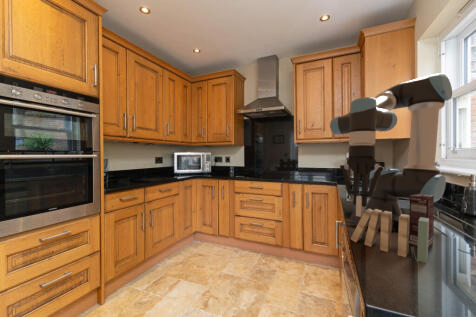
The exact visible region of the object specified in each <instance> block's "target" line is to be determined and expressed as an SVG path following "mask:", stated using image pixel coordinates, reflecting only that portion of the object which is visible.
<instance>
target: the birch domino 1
mask: <svg viewBox="0 0 476 317" xmlns="http://www.w3.org/2000/svg"><path fill="white" fill-rule="evenodd" d="M372 211H373V210H371V209H367V210H365V212H364V213H363V215H362V217H361V219H360V221H359V223H358V225H356V228H355V229H354V231H353V233H352V235H351V237H350V240H351V241H353V242H354V243H357V242H358V241H360V240H361V238H362V236H363V235H364V233H365V231H366V230H367V229H368V228H367V226H368V224H369V221H370V216H371V212H372Z"/></svg>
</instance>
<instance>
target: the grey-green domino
mask: <svg viewBox="0 0 476 317" xmlns="http://www.w3.org/2000/svg"><path fill="white" fill-rule="evenodd" d="M428 236H429V218H423V217H420V219H419V220H418V245H417V255H416V256H417V257H416V261H417V262H421V263H424V264H427V262H428V258H429V246H428Z"/></svg>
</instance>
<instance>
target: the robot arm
mask: <svg viewBox="0 0 476 317" xmlns="http://www.w3.org/2000/svg"><path fill="white" fill-rule="evenodd" d="M452 97H453V87H452V84H451V80H450V79H449V76H447V74H445V73H442V72H440V73H439V72H438V73H434V74H430V75H427V76H423V77H419V78H415V79H412V80H408V81H404V82H400V83H398V84H395V85H393V86H391V87H389V88H387V89H385V90H384V91H382V92H380V93H378V94H377V95H376V96H375V97H371V96H369V97H368V96H366V97H359V98H356V99H353V100H352V101H351V102H350V104H349V105H350V107H349V112H348V113H346V114H343V115H342V116H340V115H339V116H336V117H333V118H332V119H331V120H330V122H329V128H330V131H331V133H333V135H341V136H342V135H347V134H348V135H349V136H348V137H349V138H348V144H349V146H348V159H347V161H346V163H344V164H343V165H342V164H341V165H339V168H340V170H341V172H342V173H343V180H344V183H345V188H346V192H347V193H348V194H350V195H352V205H353V206H355V212H356V216H359V217H362V215H363V211H365V210H367V209H371V210H375V209H378V210H381V211H382V212H384V211H389V212H392V214H393V215H394V216H395V218H394V220H395V221H394V222H399V216H400V215H401V214H403V213H402V209H401V207H400V204H399V199H404V200H405V199H406V200H410V196H411V195H414V194H426V195H433V196H434V202H433V203H437V202H438V201H439V200H440V199H441V198H442V197H443V194H444V193H445V190H446V186H447V182H446V181H447V180H446V177H445V176H444V175H442V174H441V173H440V169H439V168H437V167H436V158H437V157H436V156H437V155H436V154H437V142H438V129H439V115H440V114H439V113H440V110H442V108H444V107H445V104H446V101H449V100H451V99H452ZM404 108H407V109H408V110H409V111H410V112H411V122H410V123H411V124H410V135H409V145H408V146H409V147H408V157H407V158H408V159H407V161H408V162H407V165H405V166H403V168H402V171H400V169H399V168H387V169H386V168H385V167H384V166H381V165H380V164H377V163H378V162H377V160H376V146H375V144H376V135H377V134H376V132H379V133H381V132H389V131H391V130H393V129H394V128H395V127H396V126H397V124H398V117H397V115H396V114H395V112H393V111H392V110H397V109H404ZM349 168H350V169H351V171H352V178H353V179H352V180H351V175H350V171H349ZM360 177H361V178H360ZM360 179H361V192H360ZM360 193H361V195H360Z"/></svg>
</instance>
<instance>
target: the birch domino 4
mask: <svg viewBox="0 0 476 317" xmlns="http://www.w3.org/2000/svg"><path fill="white" fill-rule="evenodd" d="M409 219H410V215H409V214H405V213H402V214H401V215H400V216H399V221H398V232H397V234H398V235H397V237H398V239H397V256H400V257H403V258H407V256H408V254H409V249H410V248H409V245H410V243H409Z"/></svg>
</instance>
